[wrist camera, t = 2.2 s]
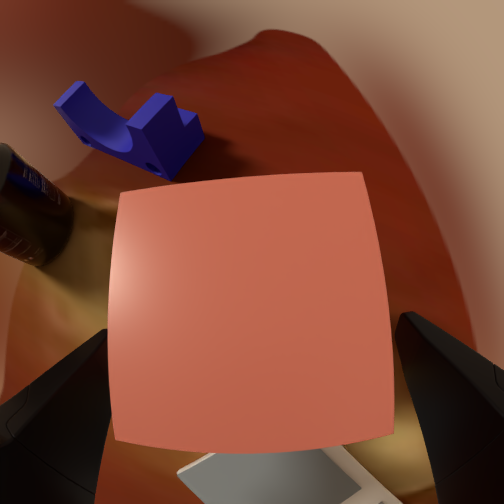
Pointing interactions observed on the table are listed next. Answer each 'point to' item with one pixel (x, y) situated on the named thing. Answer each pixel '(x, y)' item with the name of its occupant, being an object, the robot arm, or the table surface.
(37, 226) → the supplement bottle
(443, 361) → the robot arm
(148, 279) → the salmon block on plinth
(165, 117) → the blue cradle bracket
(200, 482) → the panel board
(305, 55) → the table surface
